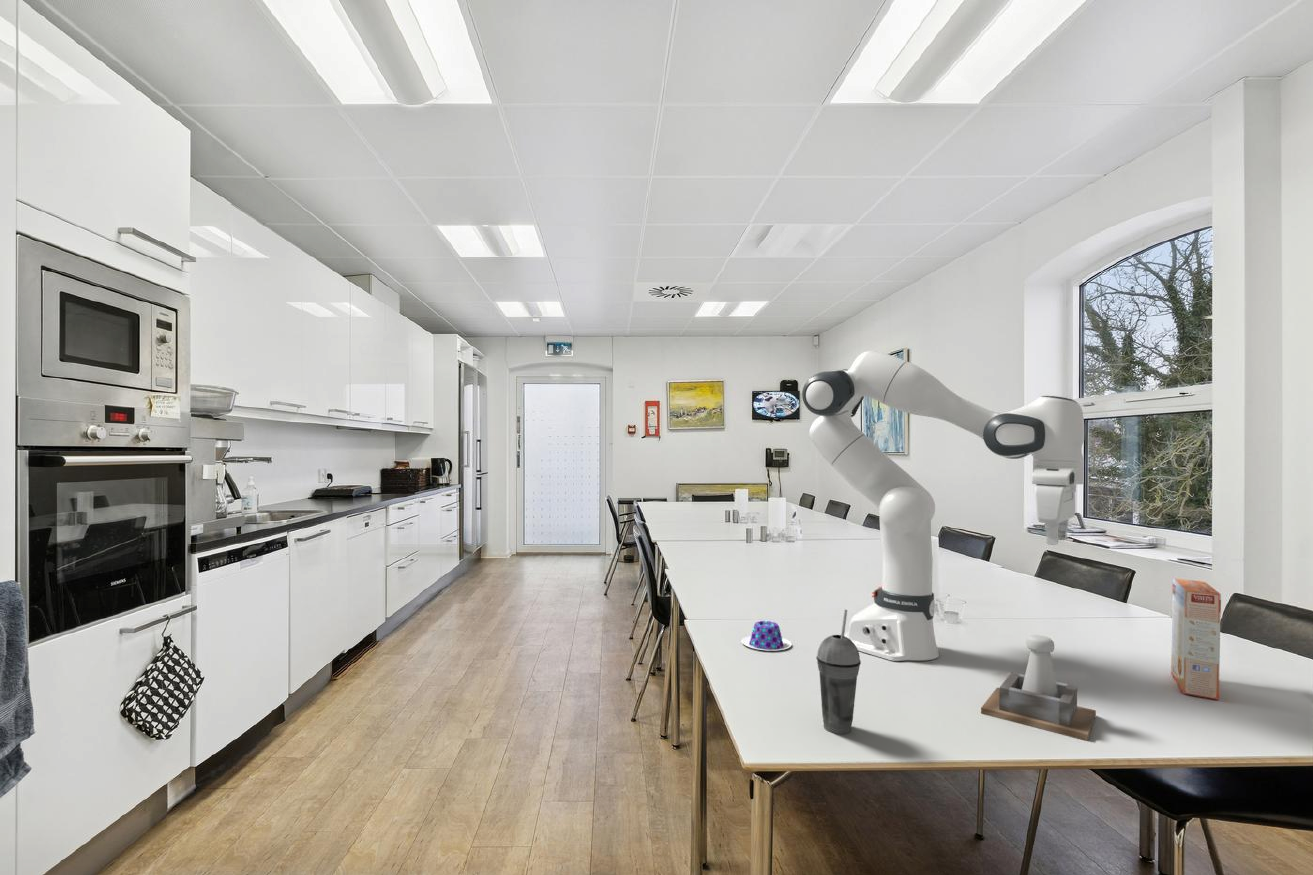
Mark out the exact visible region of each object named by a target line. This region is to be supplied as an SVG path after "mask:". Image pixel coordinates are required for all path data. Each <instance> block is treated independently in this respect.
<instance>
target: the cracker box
mask: <svg viewBox="0 0 1313 875" xmlns="http://www.w3.org/2000/svg"><path fill="white" fill-rule="evenodd" d="M1171 603H1172V610H1171V611H1172V612H1171V613H1172V614H1171V654H1170V655H1171V659H1170V664H1171V665H1170V674H1171V676H1172V678H1173V679H1174V681H1175V683H1176V684H1177V687H1179V689H1180V690H1181V693H1182V694H1185V695H1190V696H1193V697H1199V698H1206V699H1209V700H1217V701H1219V699H1220V666H1221V665H1220V664H1221V663H1220V660H1221V658H1220V657H1221V649H1220V648H1221V614H1222V613H1221V612H1222V611H1221V610H1222V593H1220V592H1219V591H1218V590H1216V589H1215V588H1214V587H1212V586H1211V585H1210V584H1208V583H1207V582H1206V581H1200V580H1192V579H1191V580H1190V579H1181V578H1173V579H1172V602H1171Z"/></svg>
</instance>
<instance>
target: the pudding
mask: <svg viewBox="0 0 1313 875" xmlns="http://www.w3.org/2000/svg"><path fill="white" fill-rule="evenodd" d="M740 641H741V644H742V645H744V646H746V647H748V648H751V649H754V650H759V651H767V652H770V651H771V652H772V651H784V650H786V649H789V648H791V647H792V645H793V643H792V642H791V641H790V640H788V639H787V638H784V637H782V633H781V628H780V626H779V624H778V623H776V622H775V621H773V622H772V621H770V620H769V621H768V620H767V621H766V620H760V621H756V622H755V623H754V626H753V628H752V632H751V635H748V636H745V637H743V638H741V640H740Z"/></svg>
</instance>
